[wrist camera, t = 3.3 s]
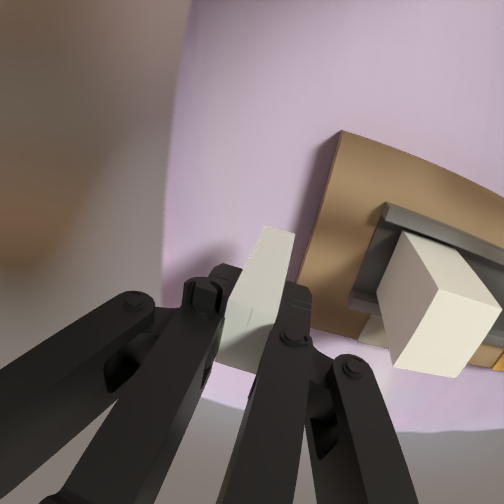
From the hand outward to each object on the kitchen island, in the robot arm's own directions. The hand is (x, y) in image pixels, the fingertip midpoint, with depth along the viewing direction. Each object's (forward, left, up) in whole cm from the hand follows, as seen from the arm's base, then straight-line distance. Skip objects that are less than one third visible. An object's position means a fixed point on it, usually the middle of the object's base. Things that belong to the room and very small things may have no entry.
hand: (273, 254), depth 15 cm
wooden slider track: (0, +16, -6) cm, 17 cm away
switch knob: (0, +9, -4) cm, 10 cm away
